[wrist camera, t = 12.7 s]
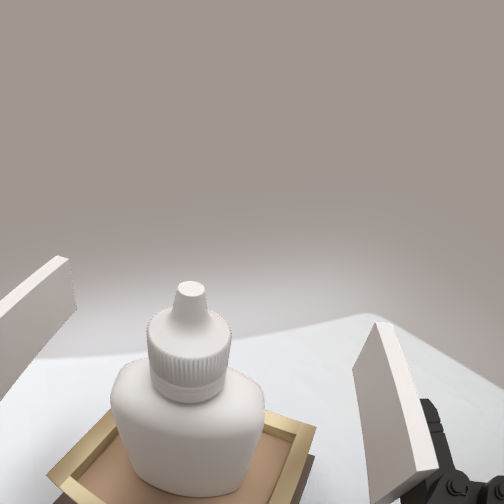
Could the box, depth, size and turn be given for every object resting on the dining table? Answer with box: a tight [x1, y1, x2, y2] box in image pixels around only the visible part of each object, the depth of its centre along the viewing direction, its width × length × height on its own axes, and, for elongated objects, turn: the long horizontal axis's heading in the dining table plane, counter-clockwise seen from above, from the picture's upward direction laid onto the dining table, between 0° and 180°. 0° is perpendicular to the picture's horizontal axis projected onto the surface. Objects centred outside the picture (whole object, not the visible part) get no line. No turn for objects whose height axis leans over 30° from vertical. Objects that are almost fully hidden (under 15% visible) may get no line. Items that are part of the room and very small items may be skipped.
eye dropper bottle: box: [110, 281, 265, 497], centre depth 10 cm, size 4×6×12 cm
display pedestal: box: [46, 409, 316, 504], centre depth 14 cm, size 14×14×7 cm
